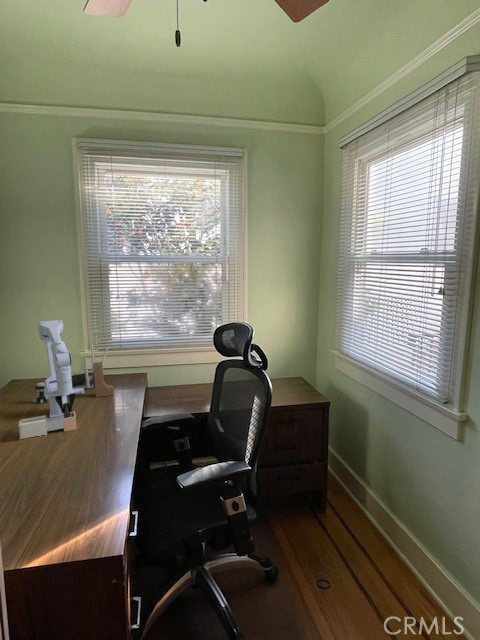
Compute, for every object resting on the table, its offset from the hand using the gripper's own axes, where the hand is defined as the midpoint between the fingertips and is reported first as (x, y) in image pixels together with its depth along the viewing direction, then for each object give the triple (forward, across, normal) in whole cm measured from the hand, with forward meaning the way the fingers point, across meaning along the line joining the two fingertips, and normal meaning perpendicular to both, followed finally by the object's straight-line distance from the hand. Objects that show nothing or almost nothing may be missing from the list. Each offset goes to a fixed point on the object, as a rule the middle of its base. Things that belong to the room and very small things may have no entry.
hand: (66, 411), depth 152 cm
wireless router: (+8, +13, +60) cm, 62 cm away
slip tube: (+6, -4, 0) cm, 7 cm away
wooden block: (+7, +19, +34) cm, 40 cm away
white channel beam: (+7, -13, 0) cm, 15 cm away
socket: (+7, +1, 0) cm, 7 cm away
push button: (+7, -11, +39) cm, 41 cm away
